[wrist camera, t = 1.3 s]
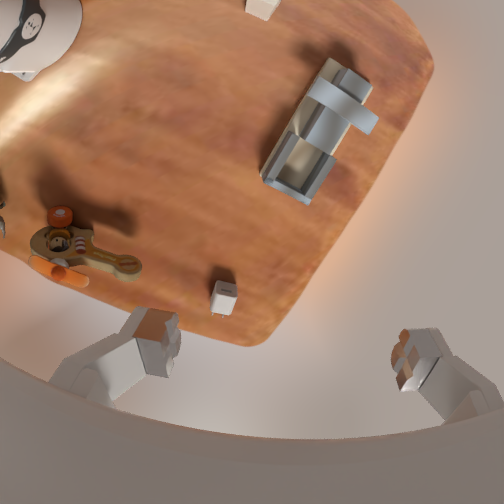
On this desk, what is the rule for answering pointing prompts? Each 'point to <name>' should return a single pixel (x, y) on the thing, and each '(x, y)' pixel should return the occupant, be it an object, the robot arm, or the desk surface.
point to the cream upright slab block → (261, 8)
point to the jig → (318, 131)
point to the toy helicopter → (75, 252)
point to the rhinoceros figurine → (2, 221)
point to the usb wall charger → (223, 298)
